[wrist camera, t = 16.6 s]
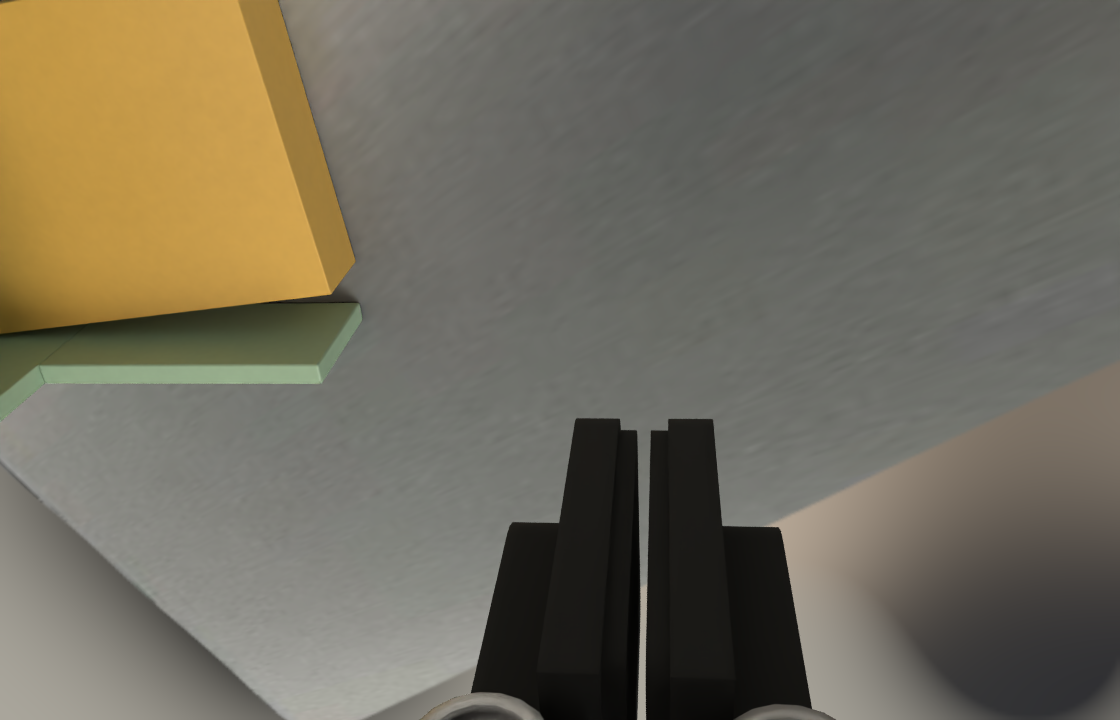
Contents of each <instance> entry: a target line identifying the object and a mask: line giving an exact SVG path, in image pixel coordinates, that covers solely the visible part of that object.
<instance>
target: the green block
mask: <svg viewBox="0 0 1120 720" xmlns="http://www.w3.org/2000/svg"><path fill="white" fill-rule="evenodd" d="M361 321H362V314H361V309H360V304H359V303H296V304H247V305H238V306H230V307H222V308H213V309H205V310H197V311H188V312H180V313H171V314H163V315H155V316H146V317H138V318H130V319H121V320H113V321H105V322H96V323H88V324H80V325H71V326H63V327H55V328H46V329H38V330H30V331H21V332H13V333H4V334H0V422H1V421H2V420H3V419H4V418H5V417H6V416H8V415H9V414H10V413H11V412H12V411H13V410H15V409H16V408H17V407H18V406H19V405H20V404H22V403H23V402H24V401H25V400H26V399H27V398H28V397H30V396H31V395H32V394H33V393H34V392H35V391H37V390H38V389H39V388H40V387H41V386H42V385H44V384H45V383H79V384H321V383H322V382H323V381H324V379H325V378H326V376H327V374H328V373H329V371H330V370H331V368H332V367H333V365H334V363H335V362H336V360H337V359H338V357H339V356H340V354H341V353H342V351H343V349H344V348H345V346H346V345H347V343H348V342H349V340H350V339H351V337H352V335H353V334H354V332H355V331H356V329H357V328H358V326H359V325H360V323H361Z"/></svg>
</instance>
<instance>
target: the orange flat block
mask: <svg viewBox="0 0 1120 720" xmlns="http://www.w3.org/2000/svg"><path fill="white" fill-rule="evenodd" d="M354 263H355V258H354V254H353V251H352V248H351V244H350V241H349V238H348V234H347V231H346V227H345V224H344V221H343V217H342V214H341V211H340V207H339V204H338V201H337V197H336V194H335V191H334V187H333V184H332V181H331V177H330V174H329V170H328V167H327V164H326V160H325V157H324V154H323V150H322V147H321V144H320V140H319V137H318V134H317V130H316V127H315V124H314V120H313V117H312V114H311V110H310V107H309V103H308V100H307V97H306V93H305V90H304V87H303V83H302V80H301V77H300V73H299V70H298V67H297V63H296V60H295V57H294V53H293V50H292V47H291V43H290V40H289V36H288V33H287V30H286V26H285V23H284V20H283V16H282V13H281V10H280V6H279V3H278V0H3V1H0V334H4V333H13V332H21V331H30V330H38V329H46V328H55V327H63V326H71V325H80V324H88V323H96V322H105V321H113V320H121V319H130V318H138V317H146V316H155V315H163V314H171V313H180V312H188V311H197V310H205V309H213V308H222V307H230V306H238V305H247V304H255V303H263V302H272V301H280V300H288V299H297V298H305V297H313V296H322V295H330V294H332V292H333V291H334V290H335V288H336V287H337V286H338V284H339V283H340V282H341V280H342V279H343V278H344V276H345V275H346V274H347V272H348V271H349V270H350V268H351V267H352V266H353V264H354Z"/></svg>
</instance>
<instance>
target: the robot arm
mask: <svg viewBox="0 0 1120 720" xmlns="http://www.w3.org/2000/svg"><path fill="white" fill-rule="evenodd" d="M646 632H647V633H646V720H836V719H834V718H832V717H830V716H829V715H827V714H825V713H823V712H819V711H816V710H813V709H812V706H811V700H810V694H809V689H808V683H807V677H806V671H805V665H804V660H803V654H802V648H801V643H800V637H799V631H798V625H797V619H796V614H795V608H794V602H793V596H792V590H791V584H790V578H789V573H788V567H787V561H786V556H785V550H784V544H783V539H782V534H781V531H780V529H779V528H778V527H734V526H722V518H721V507H720V495H719V484H718V472H717V460H716V449H715V437H714V426H713V420H712V419H668V431H651V449H650V494H649V539H648V584H647V630H646ZM639 645H640V549H639V498H638V446H637V430H621V426H620V419H591V418H577V419H576V420H575V425H574V432H573V438H572V445H571V451H570V458H569V464H568V470H567V477H566V483H565V490H564V496H563V503H562V509H561V515H560V522H559V523H525V522H512V524H511V525H510V527H509V530H508V533H507V537H506V542H505V546H504V550H503V555H502V559H501V564H500V568H499V572H498V577H497V581H496V585H495V590H494V594H493V598H492V603H491V607H490V612H489V616H488V620H487V625H486V629H485V633H484V638H483V642H482V646H481V651H480V655H479V660H478V664H477V668H476V673H475V678H474V681H473V686H472V690H471V694H468V695H462V696H458V697H454V698H452V699H450V700H448V701H446V702H444V703H442V704H440V705H438V706H436V707H434V708H433V709H431V710H430V711H429V712H428V713H427V714H426V715H425V716H423V717H422V718H421V719H420V720H637V709H638V678H639V676H638V675H639Z"/></svg>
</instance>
